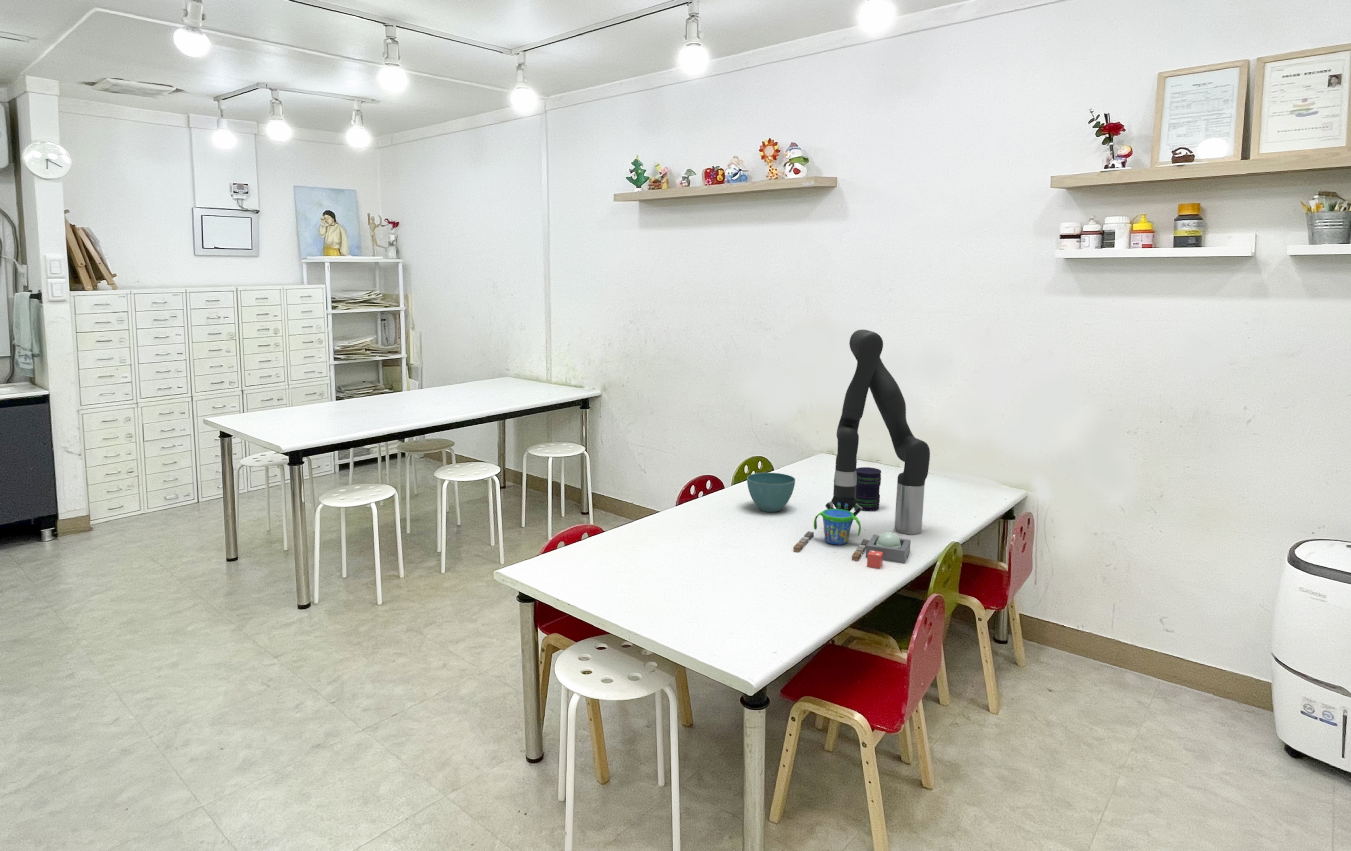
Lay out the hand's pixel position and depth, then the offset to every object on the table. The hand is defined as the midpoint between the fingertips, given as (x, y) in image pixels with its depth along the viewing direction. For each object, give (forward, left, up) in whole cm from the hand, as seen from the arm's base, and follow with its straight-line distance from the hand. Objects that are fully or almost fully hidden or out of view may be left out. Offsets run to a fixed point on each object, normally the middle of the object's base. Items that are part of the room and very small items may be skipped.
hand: (842, 531), depth 282 cm
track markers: (+16, 0, -1) cm, 16 cm away
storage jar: (-36, +1, -1) cm, 36 cm away
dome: (+14, +18, -1) cm, 23 cm away
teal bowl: (-18, -32, -1) cm, 37 cm away
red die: (+26, +16, -1) cm, 31 cm away
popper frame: (+14, +18, -1) cm, 23 cm away
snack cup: (+9, 0, -1) cm, 9 cm away
